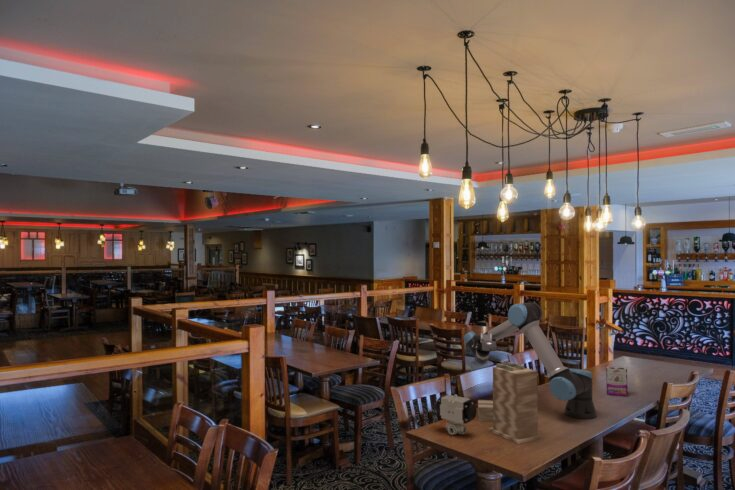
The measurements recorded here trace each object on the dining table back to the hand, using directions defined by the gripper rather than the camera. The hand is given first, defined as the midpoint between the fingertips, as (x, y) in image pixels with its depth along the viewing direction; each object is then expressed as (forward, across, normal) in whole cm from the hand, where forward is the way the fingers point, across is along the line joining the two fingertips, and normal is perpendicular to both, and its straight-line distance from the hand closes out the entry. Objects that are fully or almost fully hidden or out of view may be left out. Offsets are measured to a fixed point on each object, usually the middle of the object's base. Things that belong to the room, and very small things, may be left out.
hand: (486, 335), depth 265 cm
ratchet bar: (+1, 0, -6) cm, 6 cm away
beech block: (-14, 0, -38) cm, 41 cm away
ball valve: (+8, +18, -52) cm, 55 cm away
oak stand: (+6, -10, -50) cm, 52 cm away
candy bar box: (-59, -79, -13) cm, 99 cm away
